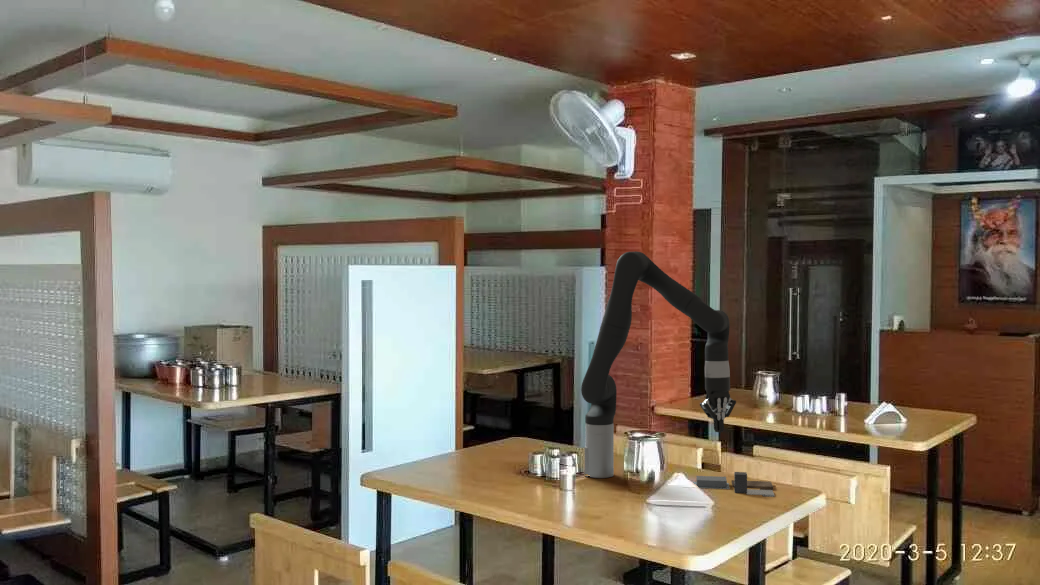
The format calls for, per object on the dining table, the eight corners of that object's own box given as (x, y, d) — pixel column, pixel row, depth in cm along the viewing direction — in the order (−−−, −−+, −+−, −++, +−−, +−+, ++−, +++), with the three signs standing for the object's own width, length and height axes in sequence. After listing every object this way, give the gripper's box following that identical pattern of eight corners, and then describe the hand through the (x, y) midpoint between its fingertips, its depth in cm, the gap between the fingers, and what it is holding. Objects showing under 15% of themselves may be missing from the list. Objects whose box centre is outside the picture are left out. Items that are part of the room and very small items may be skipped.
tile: (696, 480, 274) (726, 481, 272) (696, 475, 280) (725, 476, 278) (696, 487, 274) (726, 488, 272) (696, 482, 280) (725, 483, 278)
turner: (734, 490, 271) (734, 470, 271) (772, 492, 269) (772, 472, 269) (735, 495, 265) (735, 475, 265) (774, 496, 263) (774, 476, 263)
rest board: (732, 488, 274) (732, 485, 273) (731, 483, 280) (731, 480, 280) (773, 490, 271) (773, 486, 271) (770, 484, 278) (770, 481, 278)
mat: (683, 488, 274) (683, 487, 274) (683, 482, 282) (683, 481, 282) (729, 490, 271) (729, 489, 271) (728, 484, 279) (728, 483, 279)
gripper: (708, 377, 267) (710, 435, 267) (742, 374, 273) (743, 431, 273) (692, 376, 274) (694, 432, 274) (725, 373, 280) (727, 428, 280)
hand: (719, 431), depth 273 cm, fingers closed
